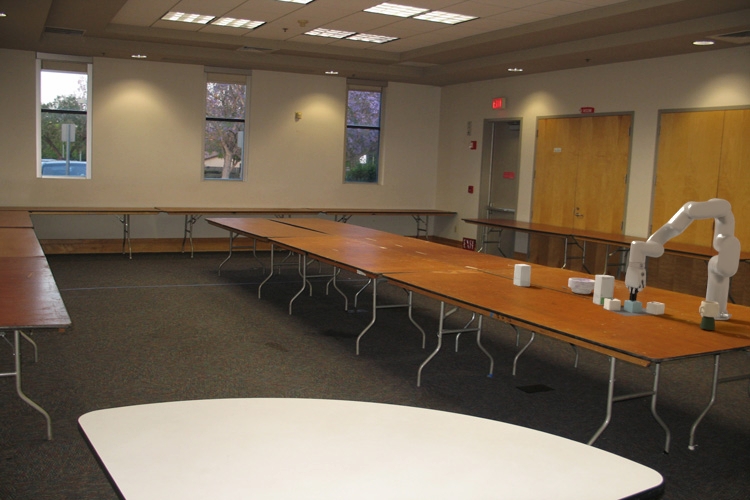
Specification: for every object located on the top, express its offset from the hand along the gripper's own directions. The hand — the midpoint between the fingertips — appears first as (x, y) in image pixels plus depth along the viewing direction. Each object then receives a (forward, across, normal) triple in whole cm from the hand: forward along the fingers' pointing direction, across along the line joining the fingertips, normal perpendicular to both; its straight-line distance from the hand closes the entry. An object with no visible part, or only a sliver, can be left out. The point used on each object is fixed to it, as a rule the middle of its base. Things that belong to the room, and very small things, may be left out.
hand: (632, 300), depth 336 cm
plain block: (+5, 0, 0) cm, 5 cm away
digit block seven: (+6, +6, +8) cm, 11 cm away
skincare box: (+6, +19, +3) cm, 20 cm away
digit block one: (+5, -6, -9) cm, 12 cm away
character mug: (+6, -39, -8) cm, 40 cm away
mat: (+6, 0, 0) cm, 6 cm away
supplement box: (+7, +76, +16) cm, 78 cm away
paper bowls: (+6, +49, -7) cm, 50 cm away
